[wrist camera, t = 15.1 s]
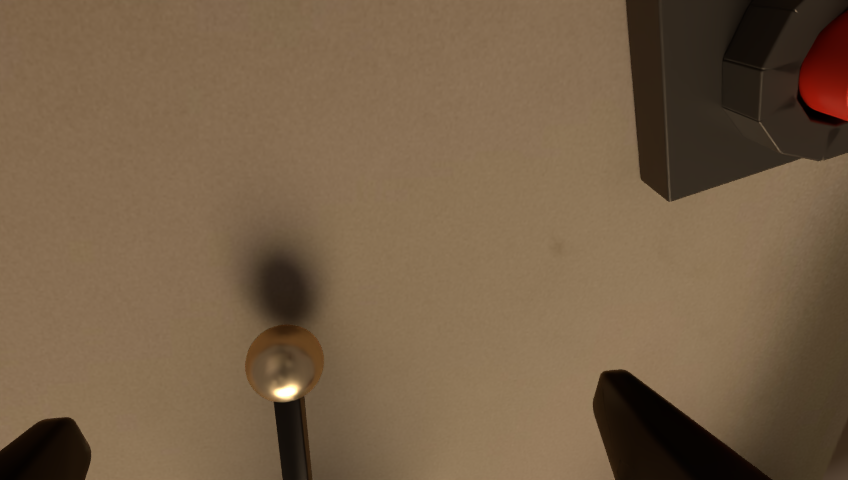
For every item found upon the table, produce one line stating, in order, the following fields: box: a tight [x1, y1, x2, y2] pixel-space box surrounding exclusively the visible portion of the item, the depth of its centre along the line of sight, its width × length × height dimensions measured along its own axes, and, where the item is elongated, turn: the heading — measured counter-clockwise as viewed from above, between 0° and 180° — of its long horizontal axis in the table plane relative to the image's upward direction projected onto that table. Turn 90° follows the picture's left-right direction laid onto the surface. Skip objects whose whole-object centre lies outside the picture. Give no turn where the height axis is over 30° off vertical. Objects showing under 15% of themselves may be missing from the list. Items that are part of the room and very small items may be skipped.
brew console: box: [626, 0, 848, 202], centre depth 16 cm, size 10×8×4 cm
